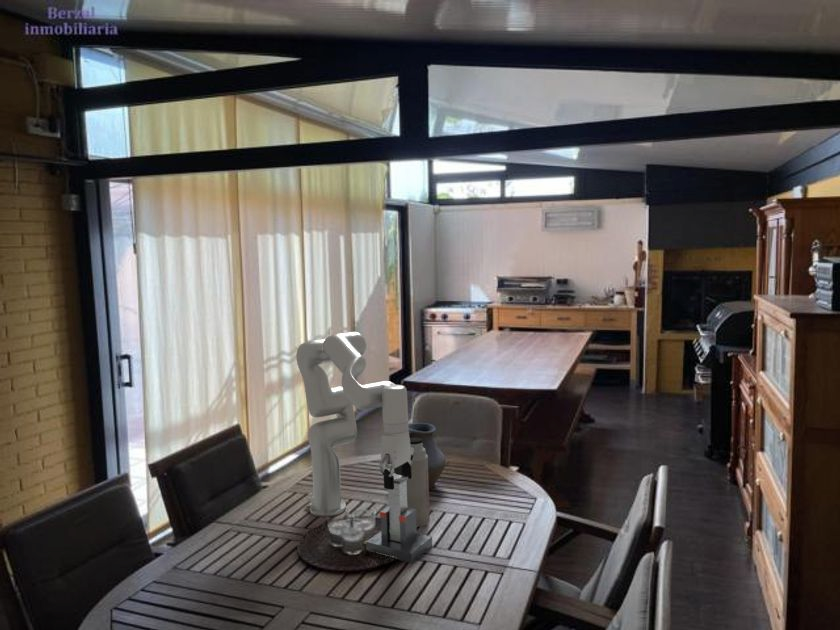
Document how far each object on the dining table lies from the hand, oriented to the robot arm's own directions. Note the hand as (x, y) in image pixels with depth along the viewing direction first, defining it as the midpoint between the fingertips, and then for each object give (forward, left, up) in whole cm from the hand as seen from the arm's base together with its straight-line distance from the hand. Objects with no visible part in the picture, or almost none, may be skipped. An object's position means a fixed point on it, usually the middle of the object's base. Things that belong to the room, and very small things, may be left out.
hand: (398, 483), depth 188 cm
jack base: (0, 0, -21) cm, 21 cm away
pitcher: (-20, +45, -21) cm, 54 cm away
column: (0, 0, -17) cm, 17 cm away
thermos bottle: (-5, +19, -21) cm, 29 cm away
